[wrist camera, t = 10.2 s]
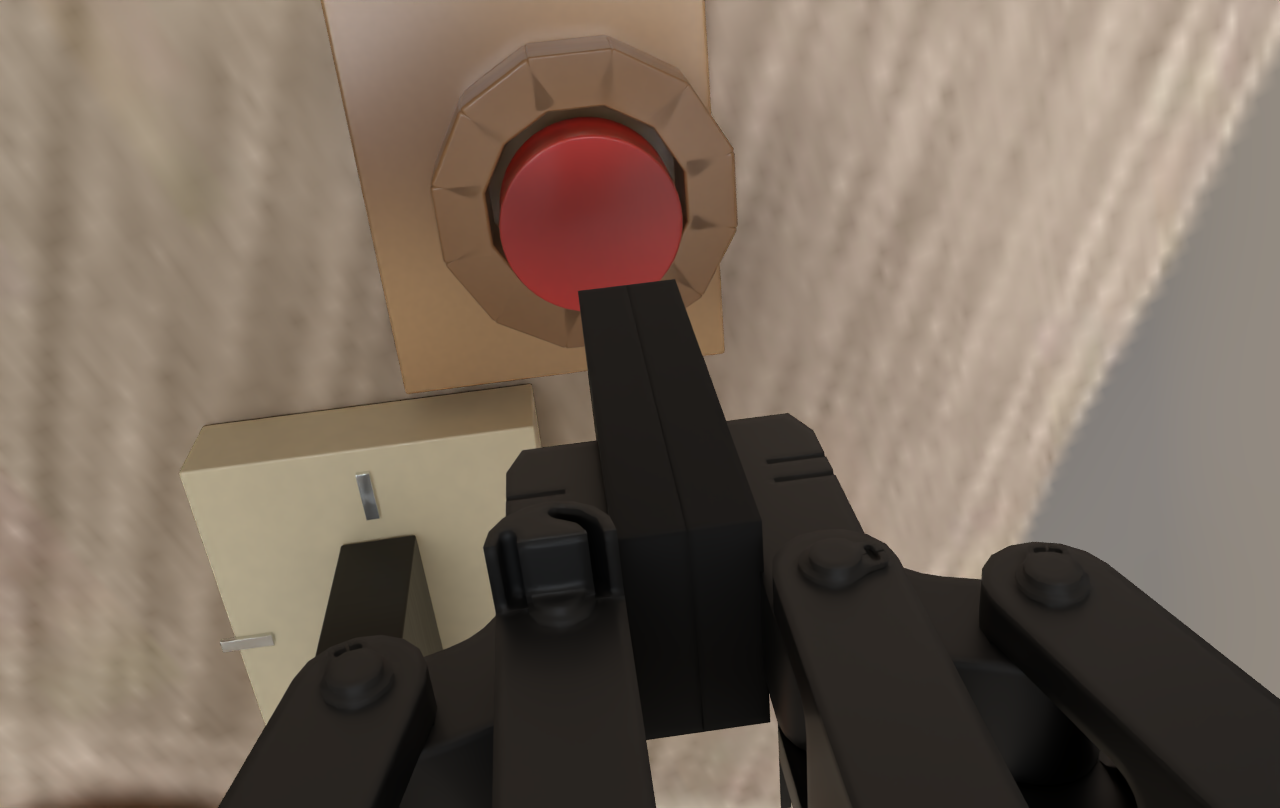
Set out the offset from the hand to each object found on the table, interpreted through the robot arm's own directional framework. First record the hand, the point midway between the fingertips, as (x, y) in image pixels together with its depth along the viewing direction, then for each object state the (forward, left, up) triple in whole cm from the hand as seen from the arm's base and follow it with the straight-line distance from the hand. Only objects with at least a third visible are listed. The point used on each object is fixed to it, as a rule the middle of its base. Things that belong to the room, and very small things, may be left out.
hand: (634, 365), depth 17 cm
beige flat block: (-11, +7, -12) cm, 18 cm away
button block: (0, +1, -12) cm, 12 cm away
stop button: (0, 0, -9) cm, 9 cm away
